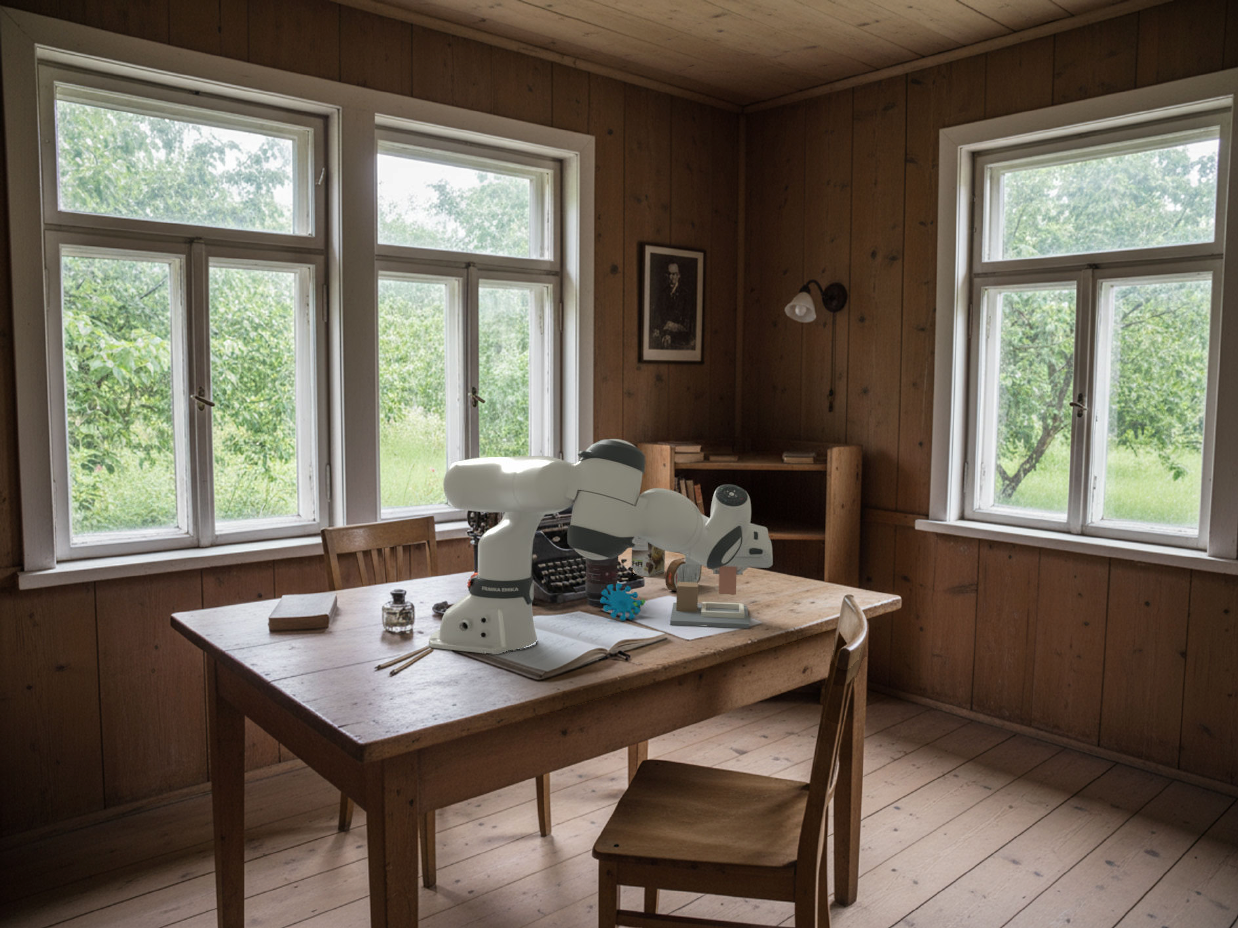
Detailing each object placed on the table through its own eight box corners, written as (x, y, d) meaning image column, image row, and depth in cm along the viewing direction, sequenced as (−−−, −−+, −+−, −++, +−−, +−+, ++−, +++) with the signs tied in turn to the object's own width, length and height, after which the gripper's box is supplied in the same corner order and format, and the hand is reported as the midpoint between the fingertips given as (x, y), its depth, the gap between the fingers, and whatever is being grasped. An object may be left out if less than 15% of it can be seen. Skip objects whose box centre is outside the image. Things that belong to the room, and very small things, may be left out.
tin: (693, 583, 259) (694, 553, 258) (703, 585, 257) (704, 555, 257) (663, 592, 247) (664, 561, 246) (673, 594, 245) (674, 562, 244)
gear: (603, 615, 214) (600, 579, 220) (596, 629, 218) (592, 592, 224) (649, 620, 217) (644, 583, 224) (640, 633, 221) (636, 597, 228)
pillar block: (718, 593, 219) (719, 560, 218) (718, 590, 223) (719, 557, 222) (736, 594, 219) (736, 560, 218) (735, 590, 223) (736, 557, 222)
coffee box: (649, 577, 266) (650, 521, 265) (630, 574, 270) (631, 519, 269) (665, 572, 274) (666, 517, 273) (646, 569, 278) (648, 515, 276)
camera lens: (621, 606, 231) (623, 546, 229) (590, 608, 228) (591, 547, 227) (611, 598, 238) (612, 540, 237) (581, 600, 236) (582, 541, 234)
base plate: (670, 624, 214) (670, 594, 213) (673, 606, 231) (674, 578, 231) (749, 628, 212) (750, 598, 211) (746, 609, 230) (747, 581, 229)
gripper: (682, 547, 209) (683, 581, 220) (775, 550, 207) (771, 584, 218) (683, 525, 213) (684, 559, 224) (774, 527, 211) (770, 562, 222)
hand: (727, 572), depth 221 cm, fingers closed on pillar block, 4 cm apart
